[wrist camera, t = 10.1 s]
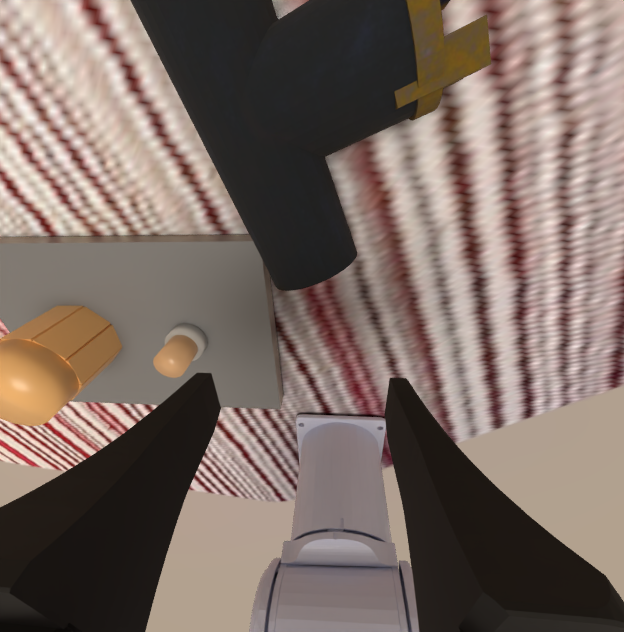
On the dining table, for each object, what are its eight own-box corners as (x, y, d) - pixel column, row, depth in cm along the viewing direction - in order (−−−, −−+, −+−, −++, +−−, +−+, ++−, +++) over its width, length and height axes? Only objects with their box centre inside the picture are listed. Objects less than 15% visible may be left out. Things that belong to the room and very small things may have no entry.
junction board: (283, 395, 25) (273, 441, 21) (69, 388, 27) (24, 429, 23) (265, 234, 18) (245, 258, 14) (-25, 237, 20) (-114, 260, 16)
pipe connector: (453, -580, 5) (511, 220, 12) (402, -245, 10) (465, 198, 16) (32, -132, 8) (266, 302, 15) (141, -36, 13) (284, 264, 20)
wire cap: (129, 362, 22) (68, 427, 17) (69, 361, 23) (-8, 424, 18) (103, 305, 20) (22, 362, 15) (36, 305, 20) (-65, 360, 15)
